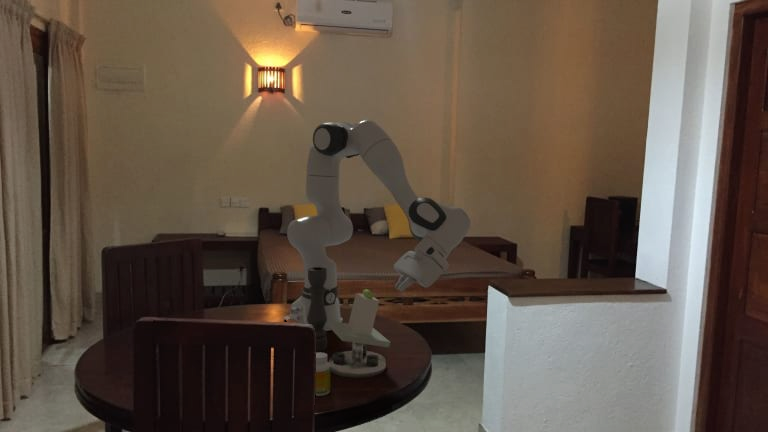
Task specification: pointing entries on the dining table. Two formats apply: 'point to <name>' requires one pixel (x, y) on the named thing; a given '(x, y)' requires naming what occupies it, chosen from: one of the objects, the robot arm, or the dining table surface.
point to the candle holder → (318, 305)
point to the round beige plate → (357, 362)
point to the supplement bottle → (322, 374)
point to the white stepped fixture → (361, 322)
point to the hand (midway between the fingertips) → (398, 289)
